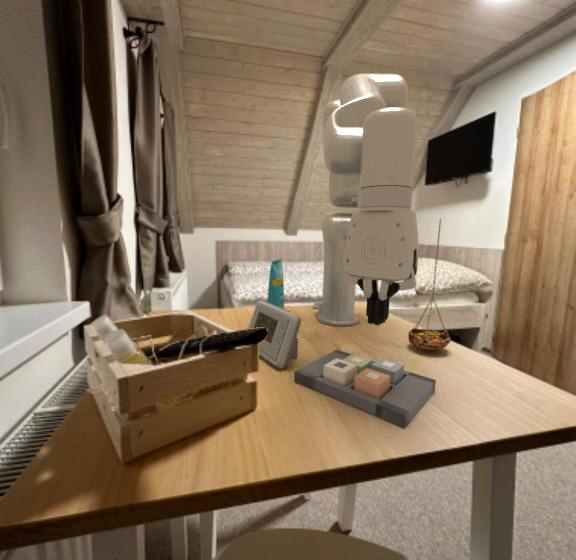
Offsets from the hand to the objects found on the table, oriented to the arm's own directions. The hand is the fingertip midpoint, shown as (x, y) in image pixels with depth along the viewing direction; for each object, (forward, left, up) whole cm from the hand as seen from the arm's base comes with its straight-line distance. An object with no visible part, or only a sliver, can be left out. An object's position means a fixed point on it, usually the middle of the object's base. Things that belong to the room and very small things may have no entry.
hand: (376, 322), depth 50 cm
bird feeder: (0, +29, -13) cm, 32 cm away
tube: (-34, +14, -13) cm, 39 cm away
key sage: (-6, +6, -13) cm, 15 cm away
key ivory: (-6, 0, -12) cm, 13 cm away
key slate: (0, +6, -12) cm, 13 cm away
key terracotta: (0, 0, -12) cm, 12 cm away
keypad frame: (-3, +3, -13) cm, 14 cm away
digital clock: (-25, +2, -13) cm, 28 cm away
